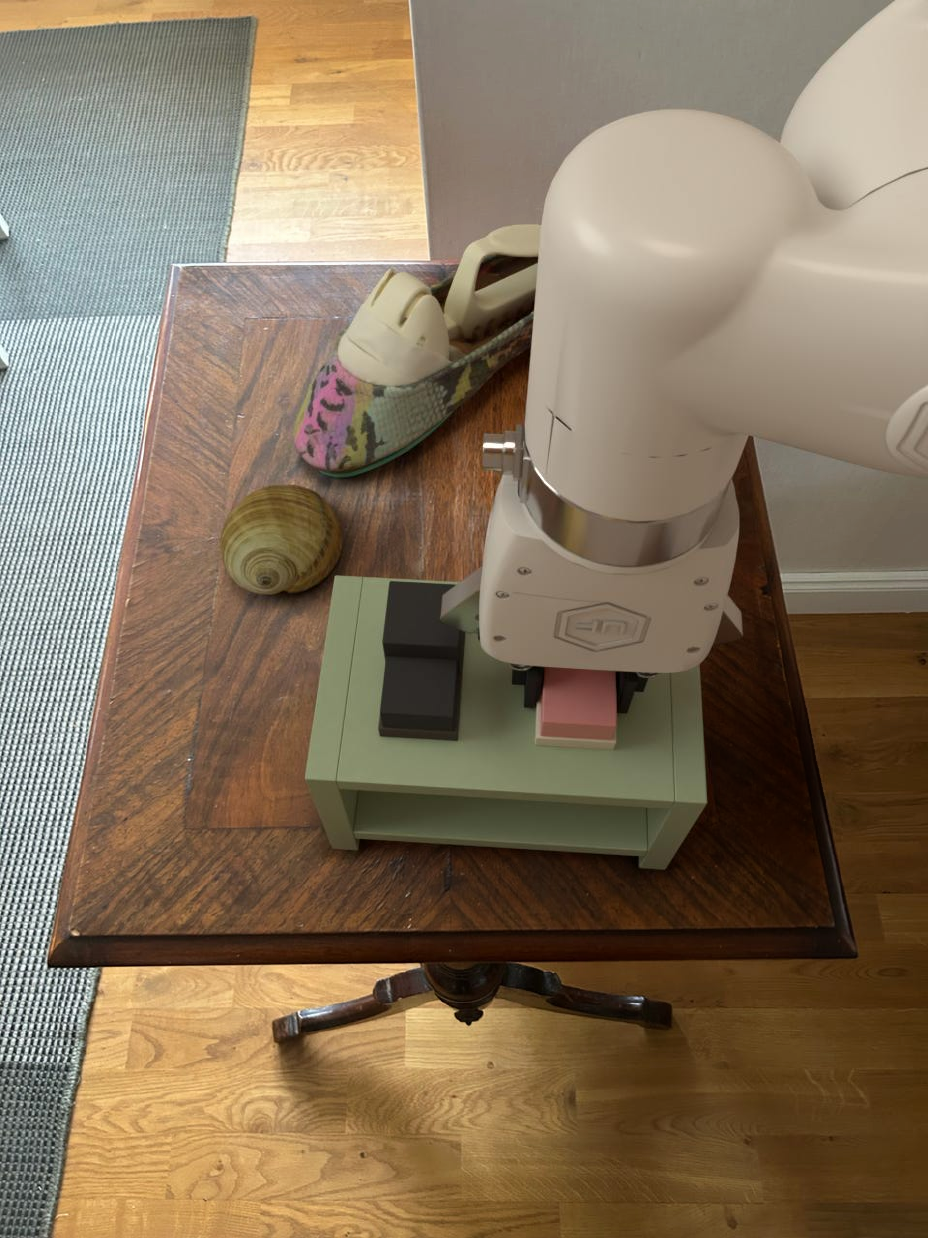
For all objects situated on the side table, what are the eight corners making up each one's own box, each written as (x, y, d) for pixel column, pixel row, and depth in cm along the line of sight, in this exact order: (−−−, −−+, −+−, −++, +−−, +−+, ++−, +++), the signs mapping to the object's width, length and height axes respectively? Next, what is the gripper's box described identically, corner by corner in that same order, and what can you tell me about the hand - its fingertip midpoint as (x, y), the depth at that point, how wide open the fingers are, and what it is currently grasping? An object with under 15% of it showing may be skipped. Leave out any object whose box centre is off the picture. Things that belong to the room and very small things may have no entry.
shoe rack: (659, 688, 66) (695, 594, 56) (665, 870, 60) (707, 803, 50) (355, 670, 67) (334, 574, 56) (332, 849, 61) (304, 779, 50)
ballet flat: (259, 423, 77) (230, 317, 68) (557, 247, 86) (568, 131, 77) (341, 511, 73) (322, 410, 64) (643, 316, 82) (666, 203, 73)
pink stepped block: (538, 625, 55) (543, 584, 51) (612, 629, 55) (623, 589, 51) (534, 745, 51) (540, 711, 48) (613, 750, 51) (625, 716, 47)
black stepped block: (392, 617, 55) (387, 576, 51) (466, 621, 55) (466, 580, 51) (379, 736, 51) (372, 702, 48) (457, 741, 51) (457, 707, 48)
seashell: (292, 541, 77) (207, 485, 72) (358, 491, 73) (274, 430, 68) (290, 640, 70) (196, 587, 65) (362, 591, 67) (270, 531, 62)
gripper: (385, 540, 35) (409, 742, 51) (869, 567, 35) (741, 762, 51) (405, 378, 39) (421, 613, 55) (843, 400, 38) (731, 631, 54)
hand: (575, 683), depth 53 cm, fingers closed on pink stepped block, 4 cm apart
